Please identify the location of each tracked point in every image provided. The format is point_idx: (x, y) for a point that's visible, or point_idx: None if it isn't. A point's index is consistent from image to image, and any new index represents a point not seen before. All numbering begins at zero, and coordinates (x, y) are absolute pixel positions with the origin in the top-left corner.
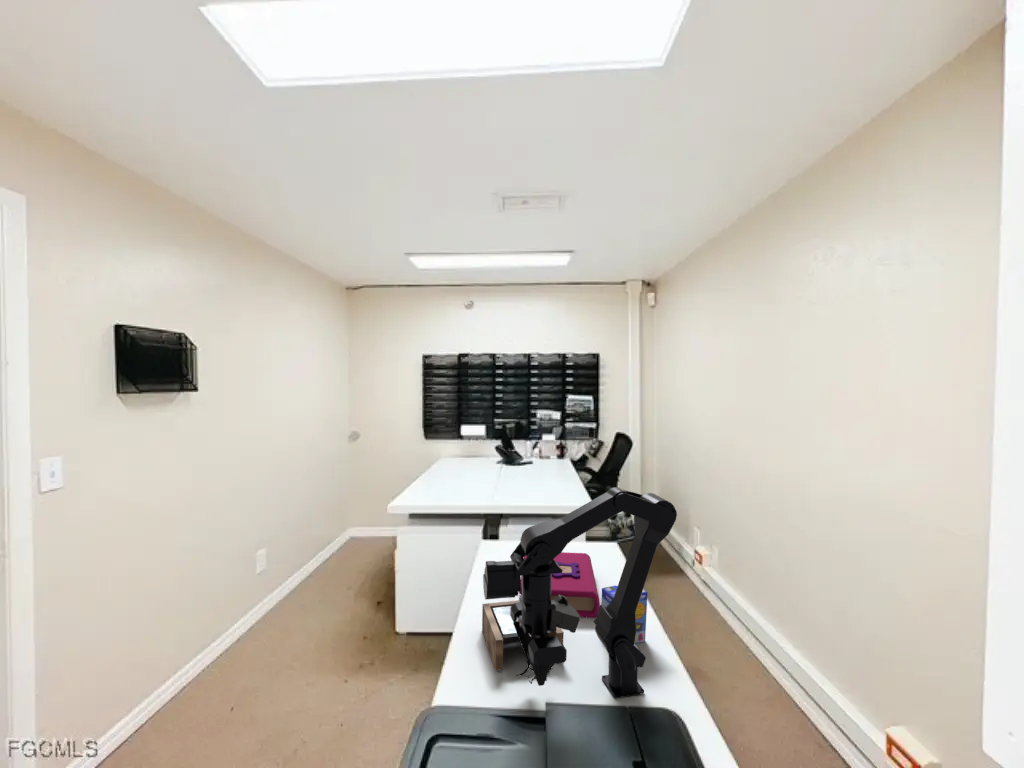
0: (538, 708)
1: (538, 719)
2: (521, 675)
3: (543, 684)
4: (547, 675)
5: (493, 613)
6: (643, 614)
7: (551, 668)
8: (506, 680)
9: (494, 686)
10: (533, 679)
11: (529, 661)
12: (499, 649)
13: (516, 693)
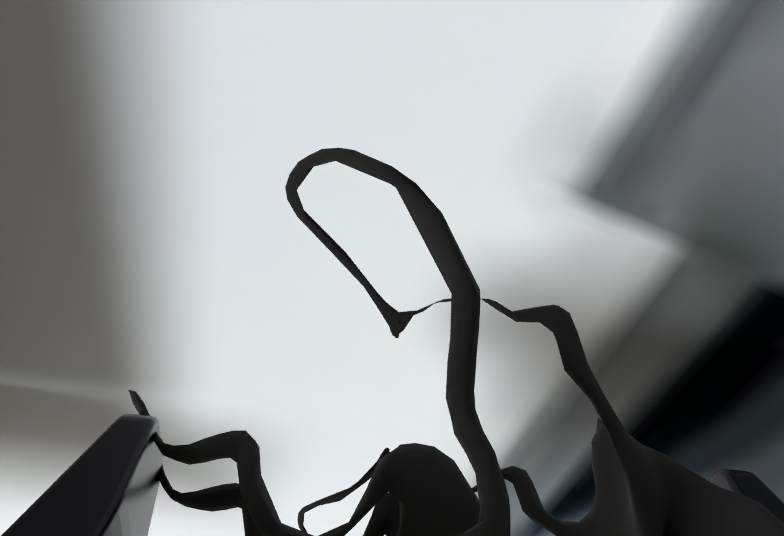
0: (620, 292)
1: (748, 341)
2: (321, 502)
3: (754, 484)
4: (771, 513)
5: None
6: None
7: (456, 259)
8: (114, 392)
9: (186, 480)
10: (560, 521)
11: (154, 474)
12: None
13: (330, 379)
